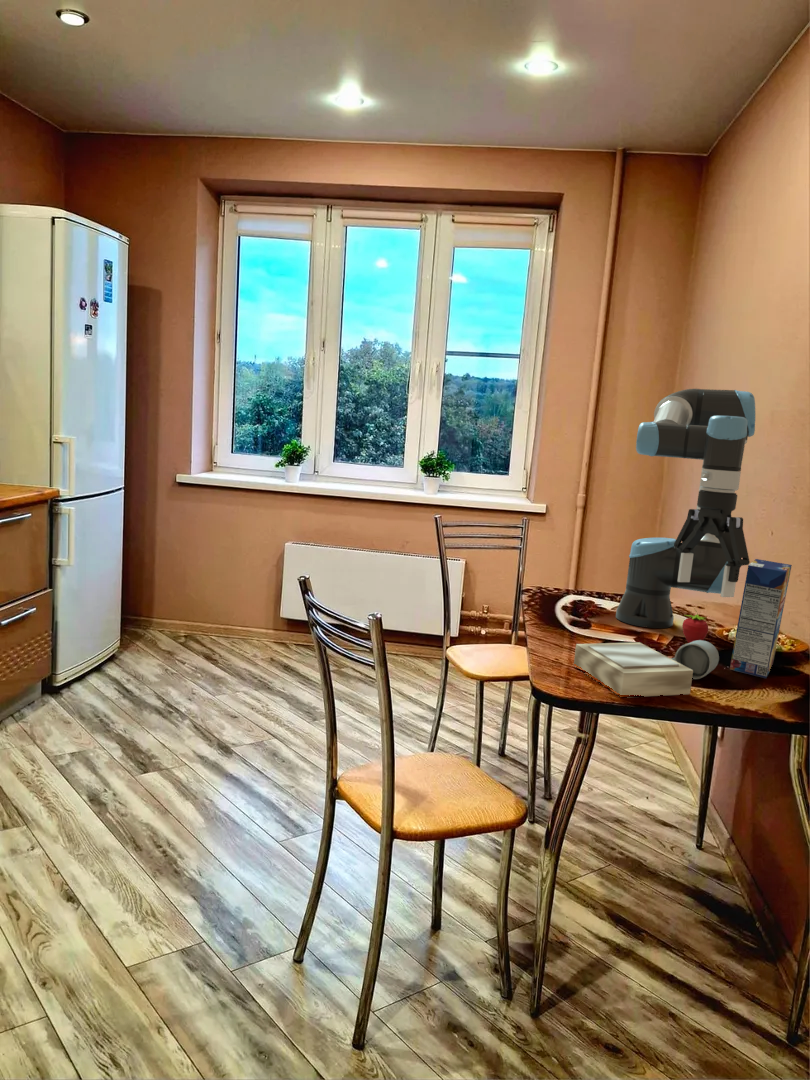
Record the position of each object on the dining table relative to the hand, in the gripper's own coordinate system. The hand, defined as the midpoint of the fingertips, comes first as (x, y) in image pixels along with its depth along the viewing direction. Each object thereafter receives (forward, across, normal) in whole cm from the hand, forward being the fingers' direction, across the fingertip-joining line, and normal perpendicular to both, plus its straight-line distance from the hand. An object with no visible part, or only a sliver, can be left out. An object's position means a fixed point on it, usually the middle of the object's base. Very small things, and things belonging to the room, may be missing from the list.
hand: (704, 589), depth 154 cm
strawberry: (+19, -16, +13) cm, 28 cm away
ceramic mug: (+19, 0, 0) cm, 19 cm away
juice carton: (+19, -2, +18) cm, 26 cm away
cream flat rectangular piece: (+19, +2, -17) cm, 26 cm away
